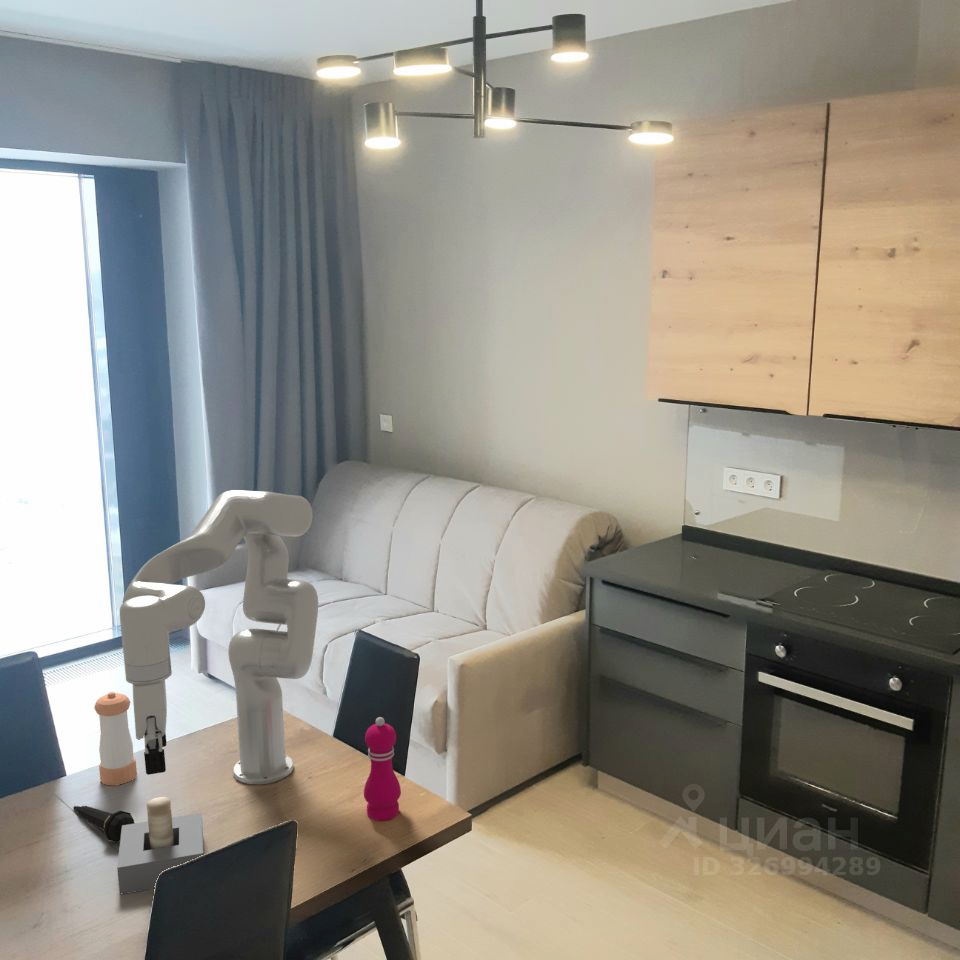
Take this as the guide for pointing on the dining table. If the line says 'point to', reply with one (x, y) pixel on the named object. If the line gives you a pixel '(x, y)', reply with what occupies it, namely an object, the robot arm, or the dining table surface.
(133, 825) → the socket block
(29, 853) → the dining table surface
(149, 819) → the peg
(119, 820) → the microphone
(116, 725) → the salt shaker
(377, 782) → the pepper mill
